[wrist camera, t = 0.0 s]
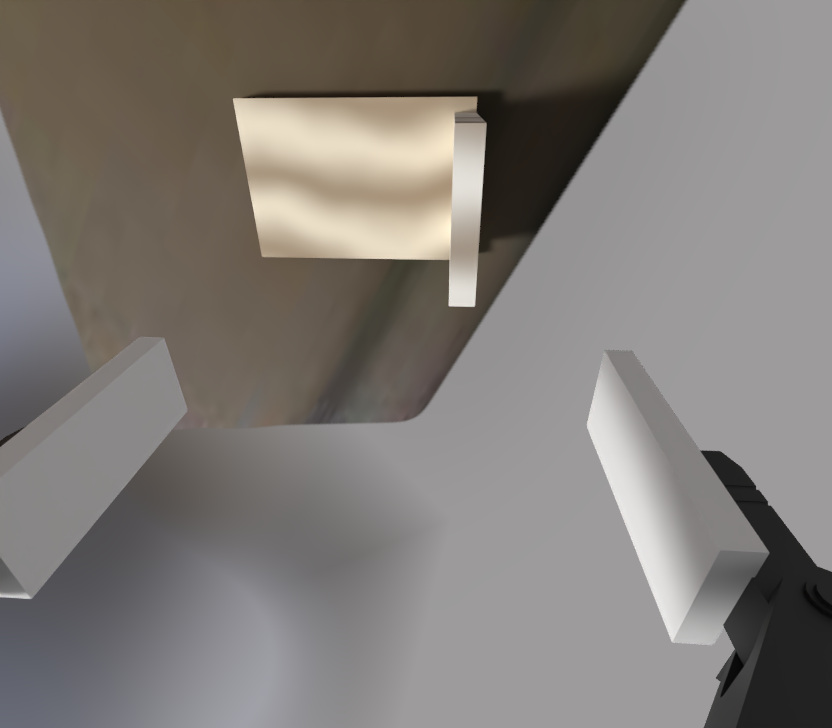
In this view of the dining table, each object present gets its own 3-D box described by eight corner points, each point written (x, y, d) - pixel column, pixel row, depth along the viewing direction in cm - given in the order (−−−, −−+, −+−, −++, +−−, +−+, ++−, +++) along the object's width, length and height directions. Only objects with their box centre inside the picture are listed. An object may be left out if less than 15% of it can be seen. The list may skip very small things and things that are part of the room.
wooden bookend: (240, 98, 35) (136, 102, 24) (476, 96, 34) (488, 100, 22) (268, 251, 41) (196, 314, 30) (468, 254, 40) (473, 321, 29)
